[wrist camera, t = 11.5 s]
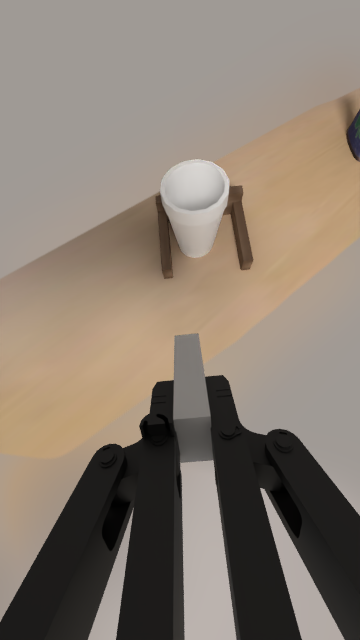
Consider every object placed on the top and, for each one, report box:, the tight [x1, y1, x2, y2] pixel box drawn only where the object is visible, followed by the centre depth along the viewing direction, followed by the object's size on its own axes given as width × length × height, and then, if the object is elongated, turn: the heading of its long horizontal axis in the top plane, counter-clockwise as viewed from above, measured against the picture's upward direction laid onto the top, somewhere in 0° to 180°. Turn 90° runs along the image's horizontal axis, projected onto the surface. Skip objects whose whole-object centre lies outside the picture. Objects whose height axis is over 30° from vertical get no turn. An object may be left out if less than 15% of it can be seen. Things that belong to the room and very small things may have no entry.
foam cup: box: [160, 159, 229, 258], centre depth 41 cm, size 10×9×13 cm
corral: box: [156, 186, 253, 279], centre depth 44 cm, size 15×14×5 cm
